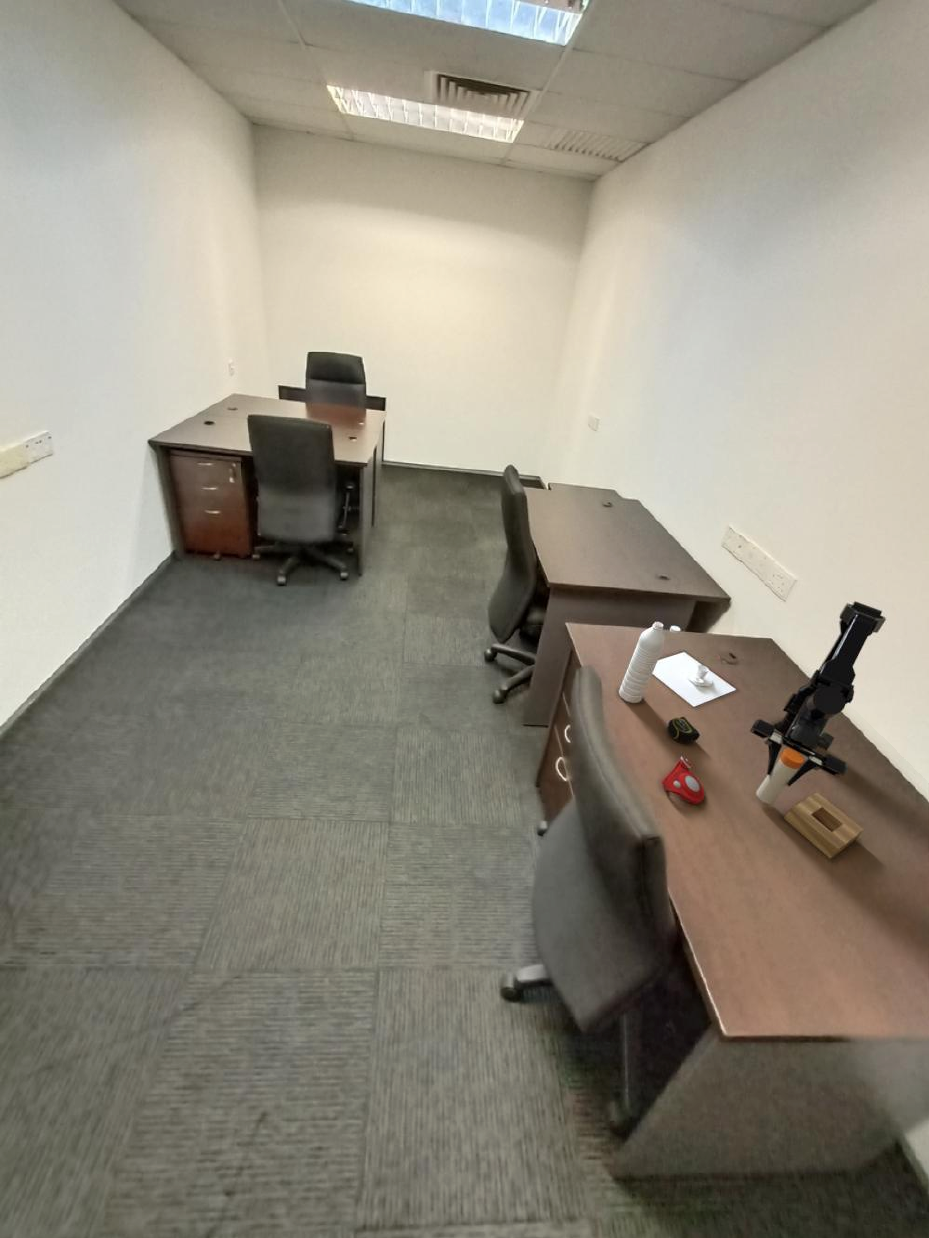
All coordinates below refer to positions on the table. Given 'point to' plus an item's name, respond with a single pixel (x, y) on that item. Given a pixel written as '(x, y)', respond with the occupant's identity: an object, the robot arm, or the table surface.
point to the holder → (817, 832)
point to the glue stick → (780, 776)
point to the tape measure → (682, 730)
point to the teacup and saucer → (690, 679)
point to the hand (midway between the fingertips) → (777, 780)
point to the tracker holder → (684, 783)
